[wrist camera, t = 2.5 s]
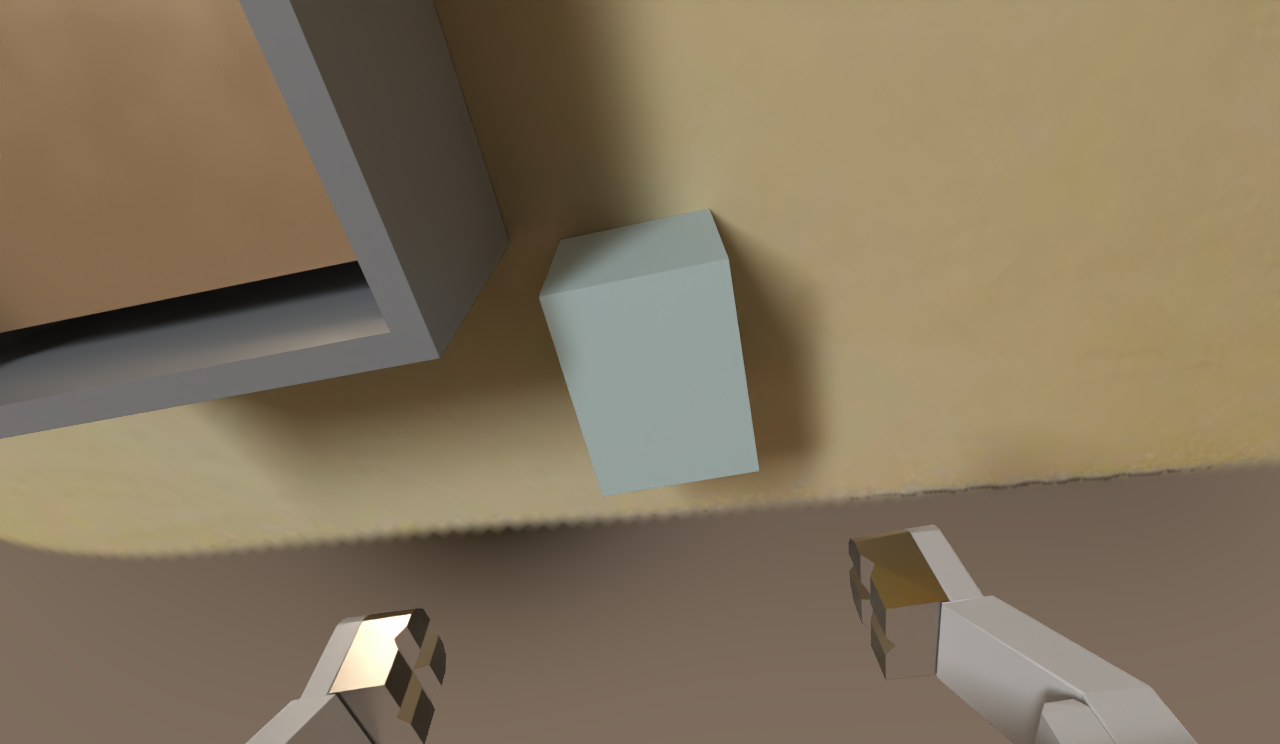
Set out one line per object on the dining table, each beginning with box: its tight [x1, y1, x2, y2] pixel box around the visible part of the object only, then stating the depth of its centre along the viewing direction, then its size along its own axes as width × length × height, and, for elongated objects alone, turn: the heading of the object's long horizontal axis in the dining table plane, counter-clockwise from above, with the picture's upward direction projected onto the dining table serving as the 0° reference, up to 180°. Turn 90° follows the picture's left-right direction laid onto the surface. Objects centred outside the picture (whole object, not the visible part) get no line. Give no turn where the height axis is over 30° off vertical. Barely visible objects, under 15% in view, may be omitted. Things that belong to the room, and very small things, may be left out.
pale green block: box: [539, 209, 759, 496], centre depth 19 cm, size 5×7×5 cm
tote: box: [0, 0, 510, 439], centre depth 13 cm, size 16×16×8 cm
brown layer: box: [0, 0, 357, 333], centre depth 14 cm, size 12×12×4 cm
